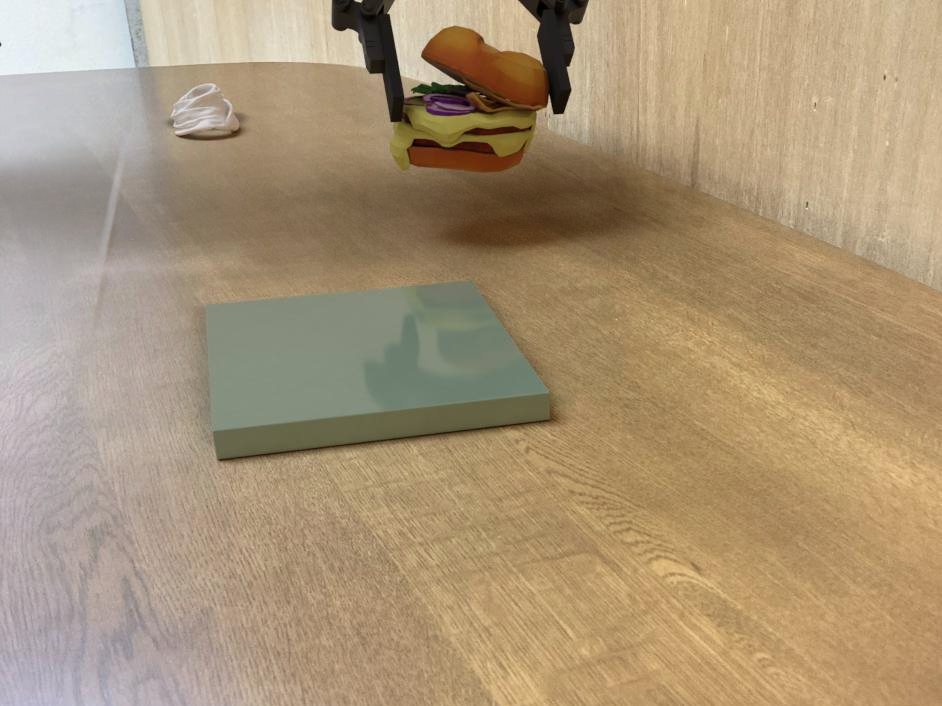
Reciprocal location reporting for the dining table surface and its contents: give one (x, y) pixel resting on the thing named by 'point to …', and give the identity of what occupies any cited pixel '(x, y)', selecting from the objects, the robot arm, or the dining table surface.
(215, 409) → the serving slab
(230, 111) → the whipped cream
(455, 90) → the cheeseburger
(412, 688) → the dining table surface
